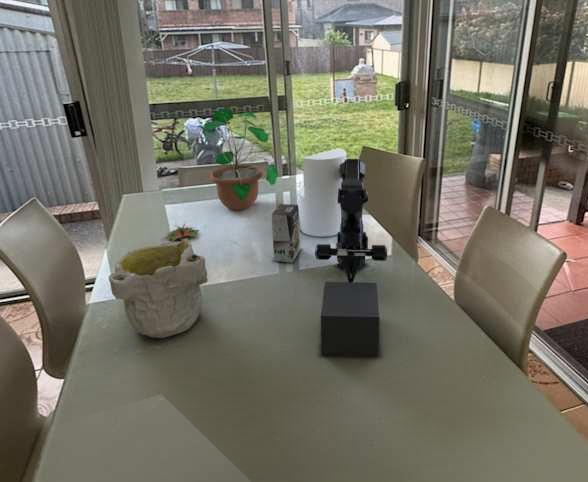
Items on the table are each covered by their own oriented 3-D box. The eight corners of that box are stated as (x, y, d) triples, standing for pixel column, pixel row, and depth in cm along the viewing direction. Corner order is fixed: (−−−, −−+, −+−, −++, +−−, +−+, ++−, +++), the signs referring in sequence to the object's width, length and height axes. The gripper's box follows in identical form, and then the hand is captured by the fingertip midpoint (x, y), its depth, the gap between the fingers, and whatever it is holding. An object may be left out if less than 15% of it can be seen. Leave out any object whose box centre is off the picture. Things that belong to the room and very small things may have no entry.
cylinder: (356, 225, 162) (356, 152, 152) (323, 241, 151) (320, 162, 141) (323, 213, 173) (321, 144, 163) (290, 227, 162) (285, 153, 152)
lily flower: (186, 245, 149) (184, 233, 147) (157, 240, 152) (155, 228, 151) (206, 231, 159) (205, 219, 158) (179, 226, 163) (177, 215, 161)
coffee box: (293, 263, 137) (290, 215, 131) (273, 261, 138) (270, 214, 132) (301, 249, 145) (299, 204, 140) (282, 247, 147) (279, 203, 141)
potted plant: (275, 218, 169) (269, 115, 155) (200, 218, 170) (187, 116, 156) (284, 190, 198) (280, 102, 184) (221, 190, 199) (211, 102, 184)
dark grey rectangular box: (325, 317, 111) (324, 281, 107) (375, 318, 111) (376, 282, 107) (321, 355, 99) (320, 315, 95) (377, 356, 98) (379, 317, 94)
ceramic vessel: (86, 282, 112) (140, 201, 111) (173, 314, 125) (221, 241, 124) (78, 333, 93) (143, 235, 92) (182, 364, 105) (239, 278, 104)
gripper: (384, 237, 126) (385, 291, 120) (319, 236, 127) (316, 290, 121) (386, 224, 116) (388, 283, 110) (316, 223, 117) (313, 281, 110)
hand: (350, 284), depth 113 cm, fingers closed
